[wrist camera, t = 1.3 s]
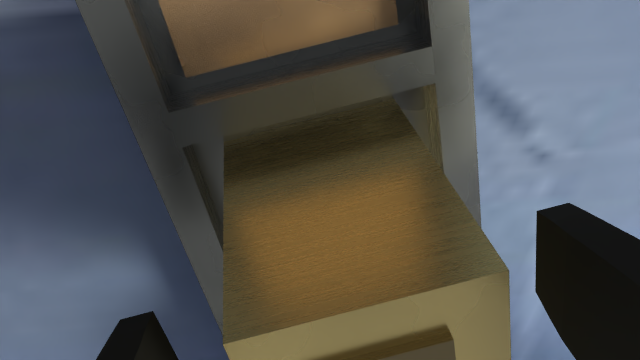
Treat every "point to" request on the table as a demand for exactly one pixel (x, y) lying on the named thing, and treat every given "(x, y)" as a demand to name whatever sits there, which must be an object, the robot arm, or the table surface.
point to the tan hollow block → (354, 248)
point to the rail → (278, 88)
